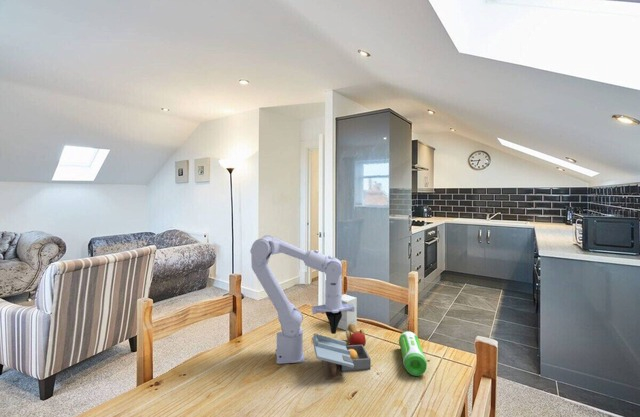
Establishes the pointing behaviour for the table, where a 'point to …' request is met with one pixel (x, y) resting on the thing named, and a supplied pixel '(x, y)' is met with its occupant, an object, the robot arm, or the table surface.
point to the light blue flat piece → (332, 350)
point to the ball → (353, 354)
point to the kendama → (355, 336)
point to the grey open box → (358, 359)
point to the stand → (332, 370)
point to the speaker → (412, 354)
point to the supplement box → (348, 313)
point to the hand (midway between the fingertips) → (333, 332)
